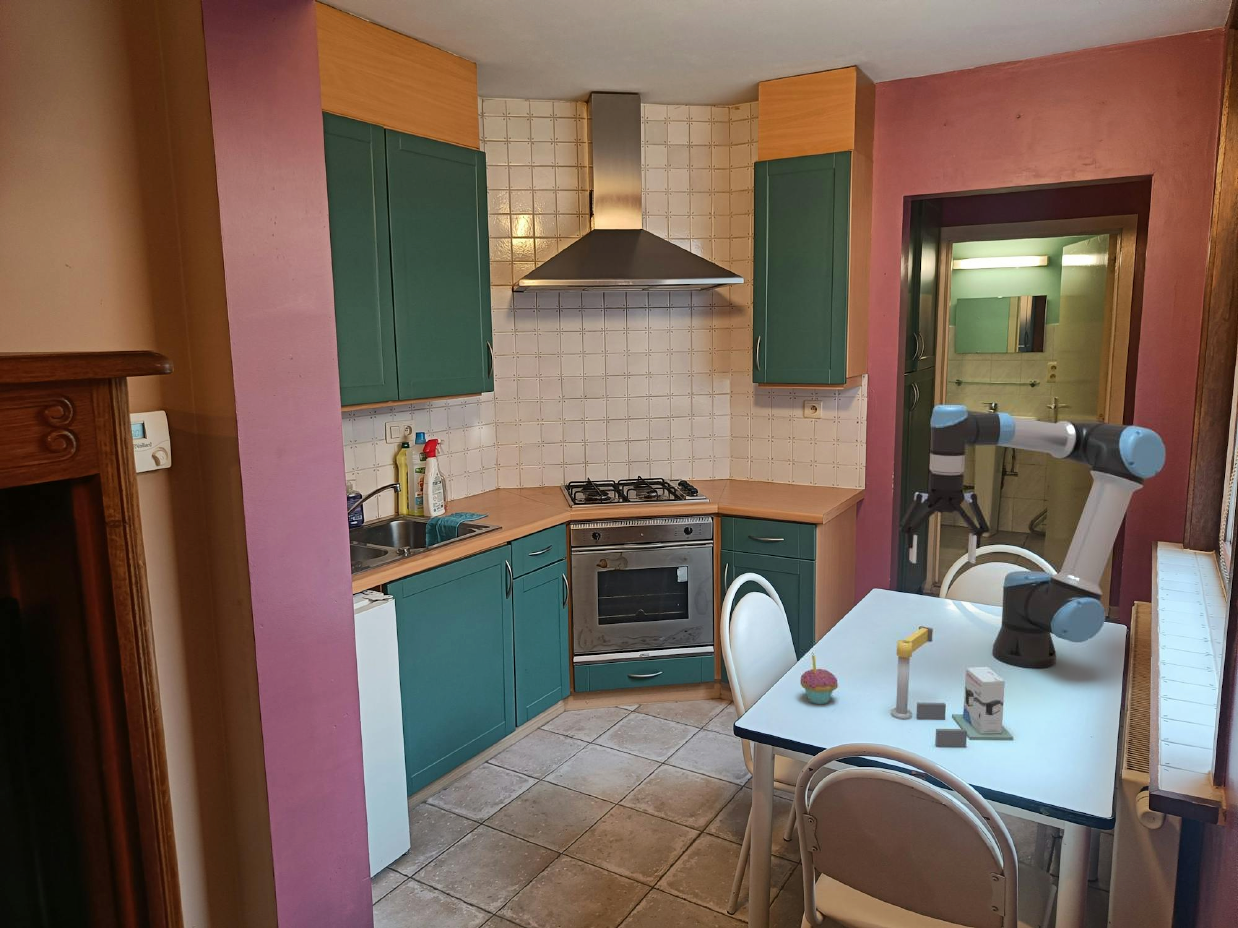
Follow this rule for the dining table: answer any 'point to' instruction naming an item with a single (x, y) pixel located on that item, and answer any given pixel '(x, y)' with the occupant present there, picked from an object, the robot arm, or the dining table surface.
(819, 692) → the cupcake
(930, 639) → the yellow long bar
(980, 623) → the dining table surface
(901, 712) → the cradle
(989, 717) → the ink box
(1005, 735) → the mat
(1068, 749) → the dining table surface
